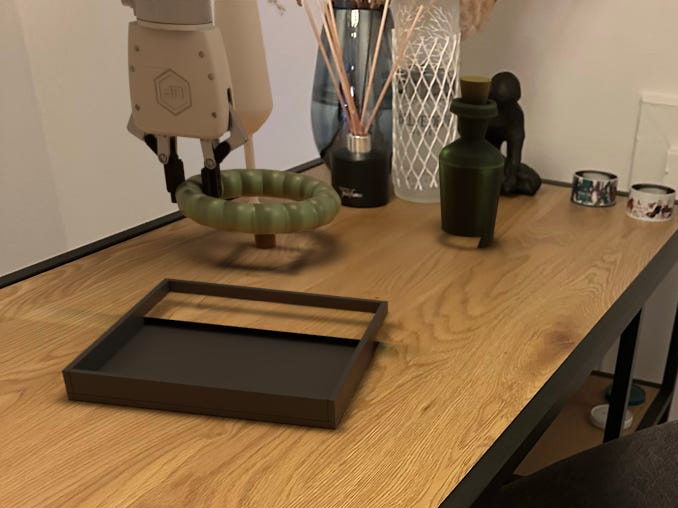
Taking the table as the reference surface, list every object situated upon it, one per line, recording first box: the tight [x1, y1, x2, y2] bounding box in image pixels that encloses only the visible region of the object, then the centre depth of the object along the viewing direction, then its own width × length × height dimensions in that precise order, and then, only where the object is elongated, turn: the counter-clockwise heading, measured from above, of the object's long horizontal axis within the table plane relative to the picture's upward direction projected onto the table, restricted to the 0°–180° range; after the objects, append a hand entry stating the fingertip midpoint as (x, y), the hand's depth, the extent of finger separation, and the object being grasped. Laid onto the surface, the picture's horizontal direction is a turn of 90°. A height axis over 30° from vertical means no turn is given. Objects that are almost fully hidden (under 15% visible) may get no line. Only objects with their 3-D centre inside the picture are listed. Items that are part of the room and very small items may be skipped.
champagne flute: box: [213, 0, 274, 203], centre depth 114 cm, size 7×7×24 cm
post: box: [253, 234, 277, 250], centre depth 108 cm, size 8×8×5 cm
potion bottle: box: [437, 75, 505, 249], centre depth 114 cm, size 8×8×18 cm
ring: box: [175, 168, 342, 235], centre depth 105 cm, size 18×18×3 cm
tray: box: [61, 277, 389, 430], centre depth 87 cm, size 23×23×3 cm
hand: (195, 200), depth 106 cm, fingers closed on ring, 3 cm apart
